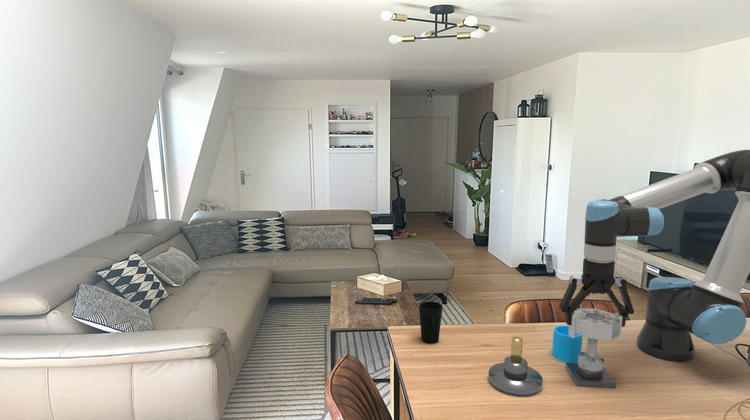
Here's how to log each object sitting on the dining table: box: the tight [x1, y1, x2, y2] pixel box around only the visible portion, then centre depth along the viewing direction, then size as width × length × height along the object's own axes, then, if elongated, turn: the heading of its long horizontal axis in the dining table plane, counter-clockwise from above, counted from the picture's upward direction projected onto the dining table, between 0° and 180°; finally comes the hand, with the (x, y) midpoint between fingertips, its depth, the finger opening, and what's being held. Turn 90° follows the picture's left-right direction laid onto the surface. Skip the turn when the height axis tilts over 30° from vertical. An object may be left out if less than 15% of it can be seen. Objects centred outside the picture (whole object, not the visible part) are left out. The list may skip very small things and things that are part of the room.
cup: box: [418, 300, 443, 345], centre depth 147 cm, size 8×8×12 cm
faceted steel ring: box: [574, 308, 621, 341], centre depth 122 cm, size 11×11×4 cm
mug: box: [551, 324, 584, 363], centre depth 138 cm, size 12×8×8 cm
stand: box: [565, 337, 617, 389], centre depth 124 cm, size 10×10×12 cm
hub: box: [487, 336, 544, 398], centre depth 121 cm, size 14×14×12 cm
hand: (594, 336), depth 123 cm, fingers closed on faceted steel ring, 11 cm apart
